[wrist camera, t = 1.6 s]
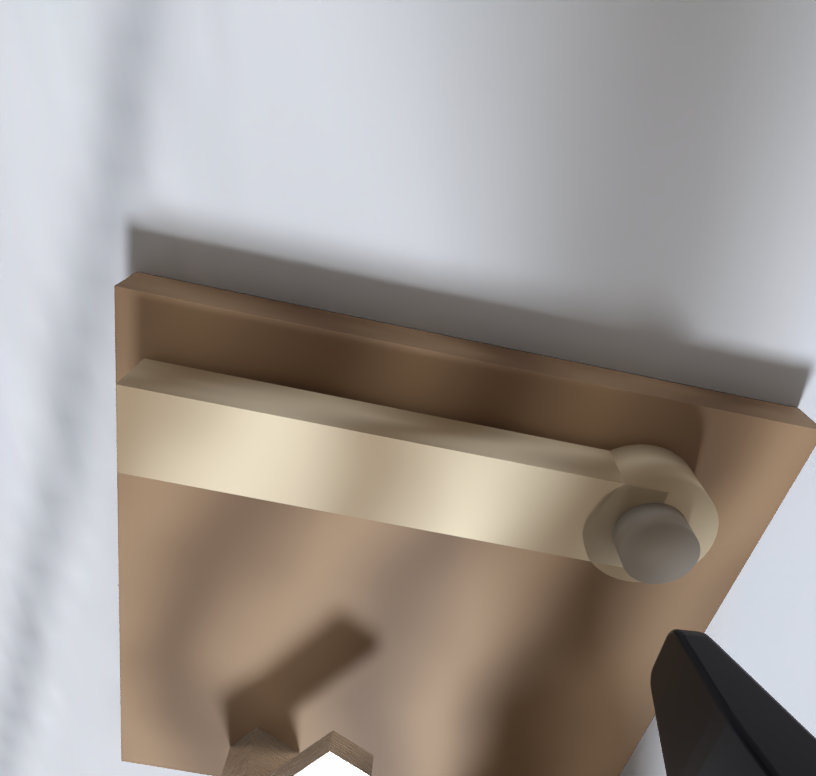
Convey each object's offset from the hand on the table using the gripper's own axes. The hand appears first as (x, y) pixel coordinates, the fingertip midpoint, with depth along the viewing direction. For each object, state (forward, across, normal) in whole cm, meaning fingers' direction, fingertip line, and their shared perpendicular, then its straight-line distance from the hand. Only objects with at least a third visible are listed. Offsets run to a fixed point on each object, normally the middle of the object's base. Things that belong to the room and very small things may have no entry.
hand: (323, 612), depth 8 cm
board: (+12, -2, +13) cm, 18 cm away
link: (+11, -2, +5) cm, 12 cm away
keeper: (+11, +2, +19) cm, 22 cm away
